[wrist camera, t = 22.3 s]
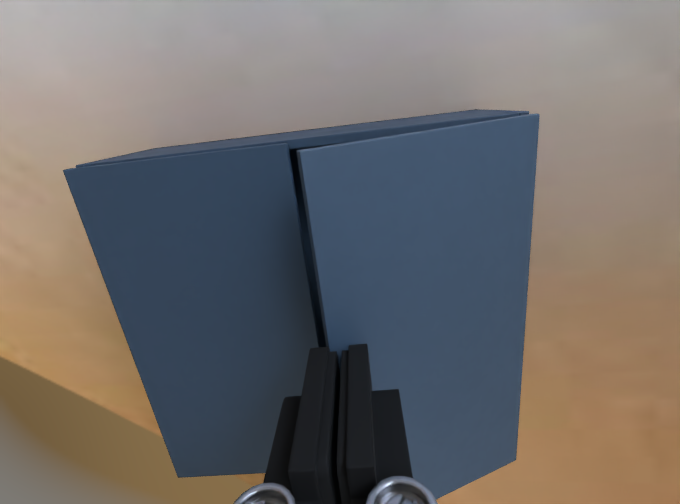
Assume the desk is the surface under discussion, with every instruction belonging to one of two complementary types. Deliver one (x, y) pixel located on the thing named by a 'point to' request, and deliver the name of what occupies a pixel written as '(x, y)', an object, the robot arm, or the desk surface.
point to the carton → (218, 280)
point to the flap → (431, 280)
